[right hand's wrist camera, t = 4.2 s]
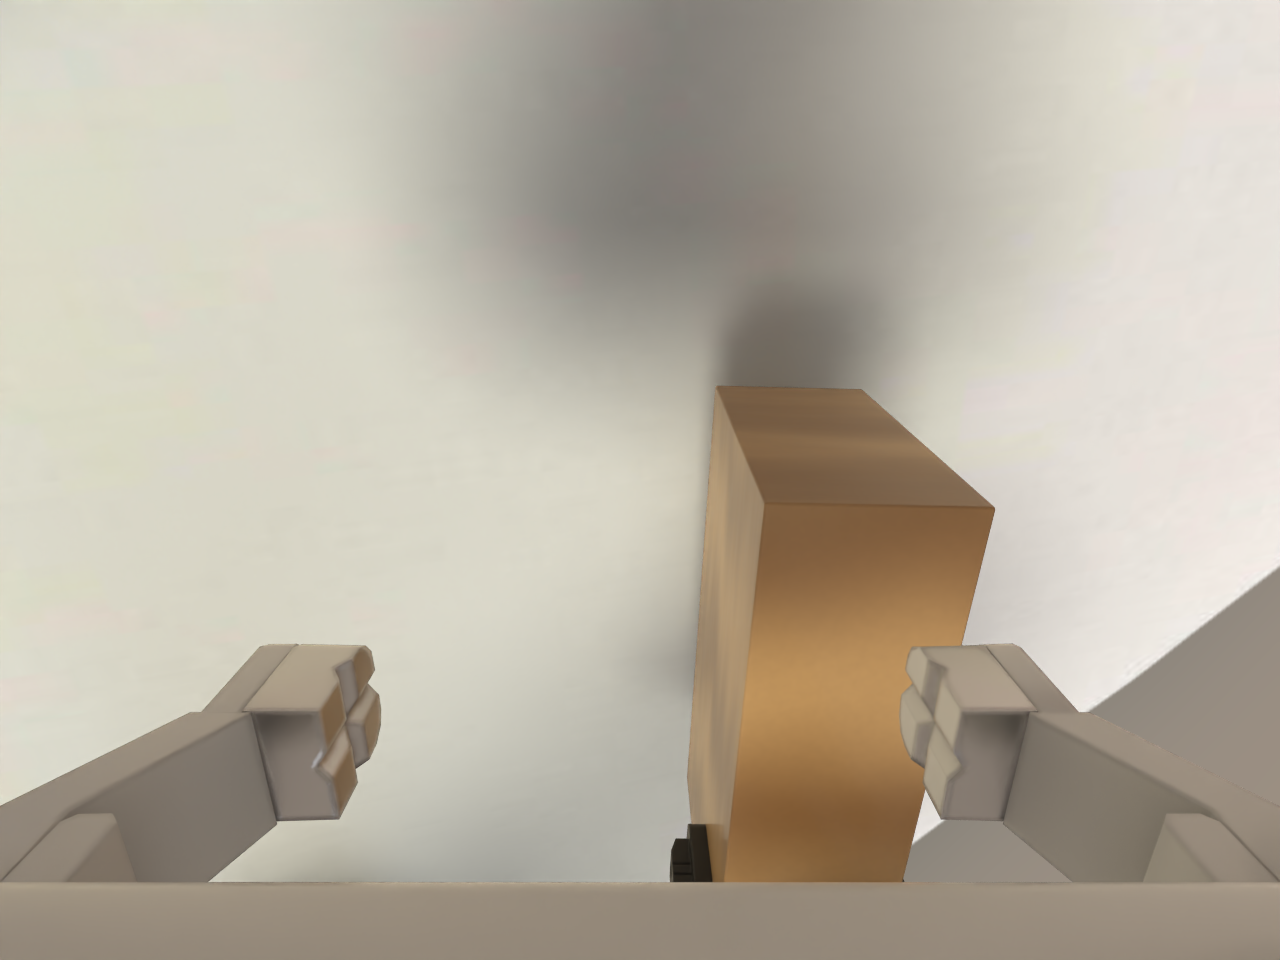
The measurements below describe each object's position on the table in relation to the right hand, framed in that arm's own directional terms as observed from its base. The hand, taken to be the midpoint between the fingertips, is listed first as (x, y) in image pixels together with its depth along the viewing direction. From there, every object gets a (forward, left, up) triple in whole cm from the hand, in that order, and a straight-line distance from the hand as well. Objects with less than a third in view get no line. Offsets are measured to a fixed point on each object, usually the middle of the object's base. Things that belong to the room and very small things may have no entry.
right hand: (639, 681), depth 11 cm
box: (+10, +6, -18) cm, 21 cm away
